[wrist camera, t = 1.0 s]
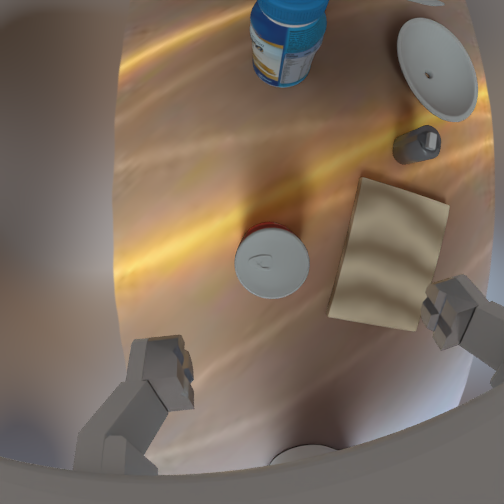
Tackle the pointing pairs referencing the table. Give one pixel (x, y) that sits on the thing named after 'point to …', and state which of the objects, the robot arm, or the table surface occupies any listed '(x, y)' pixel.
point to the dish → (437, 69)
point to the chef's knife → (429, 2)
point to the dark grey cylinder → (417, 145)
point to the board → (388, 256)
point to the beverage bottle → (286, 38)
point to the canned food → (271, 261)
